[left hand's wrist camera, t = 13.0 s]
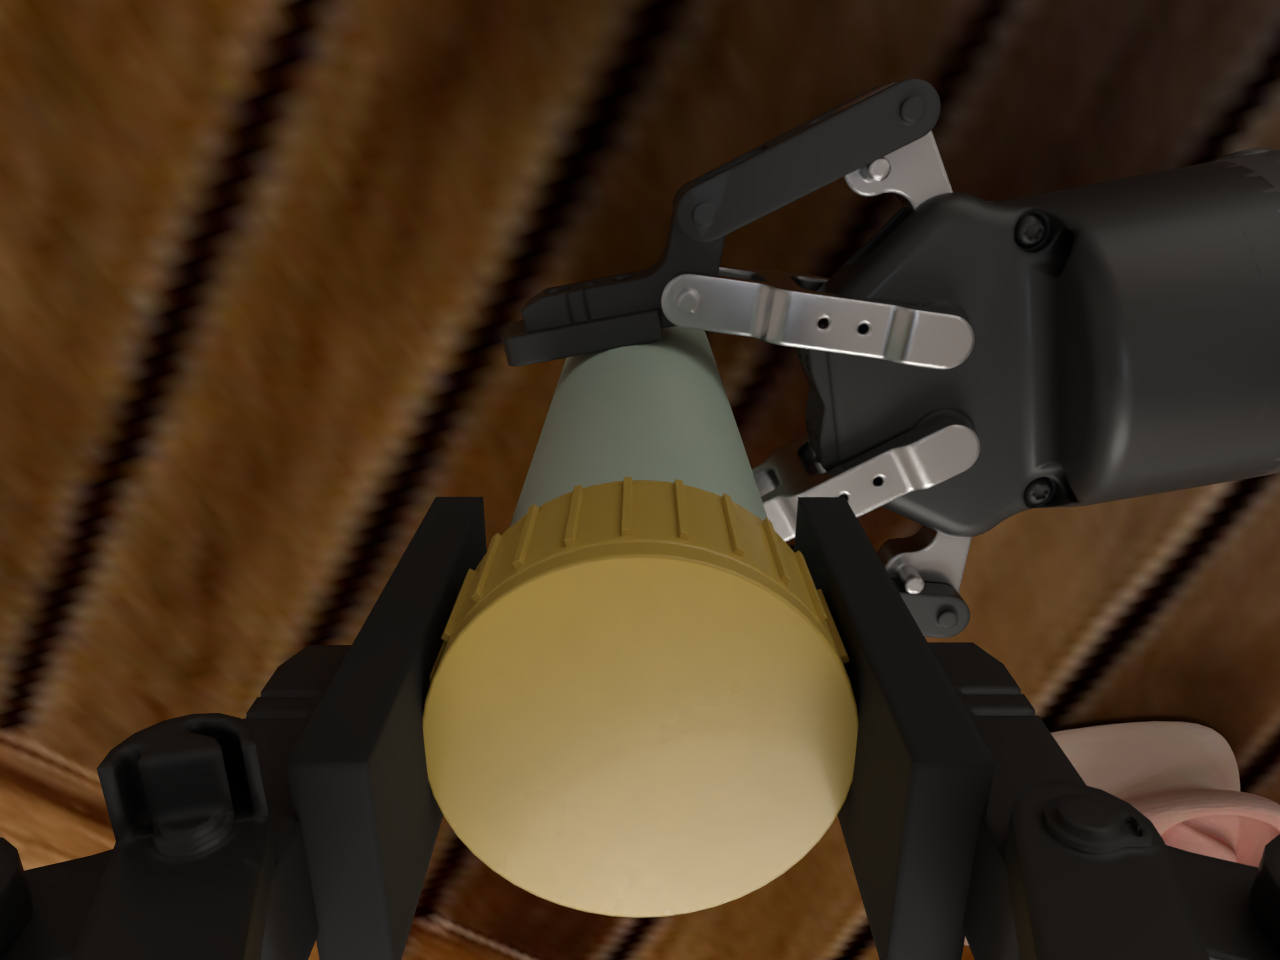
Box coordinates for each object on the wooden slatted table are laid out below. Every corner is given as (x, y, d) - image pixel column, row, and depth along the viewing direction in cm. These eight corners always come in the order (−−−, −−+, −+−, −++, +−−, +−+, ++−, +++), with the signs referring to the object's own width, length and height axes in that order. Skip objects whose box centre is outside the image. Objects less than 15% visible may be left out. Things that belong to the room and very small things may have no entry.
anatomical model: (904, 1040, 33) (942, 791, 29) (877, 949, 37) (908, 718, 33) (1258, 1040, 34) (1346, 793, 29) (1196, 950, 37) (1266, 719, 33)
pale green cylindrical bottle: (540, 341, 28) (381, 670, 11) (662, 262, 27) (701, 481, 10) (619, 455, 30) (590, 910, 12) (737, 383, 29) (888, 762, 11)
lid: (515, 829, 14) (492, 957, 12) (399, 523, 12) (346, 609, 10) (856, 759, 13) (897, 879, 11) (788, 430, 11) (822, 498, 9)
